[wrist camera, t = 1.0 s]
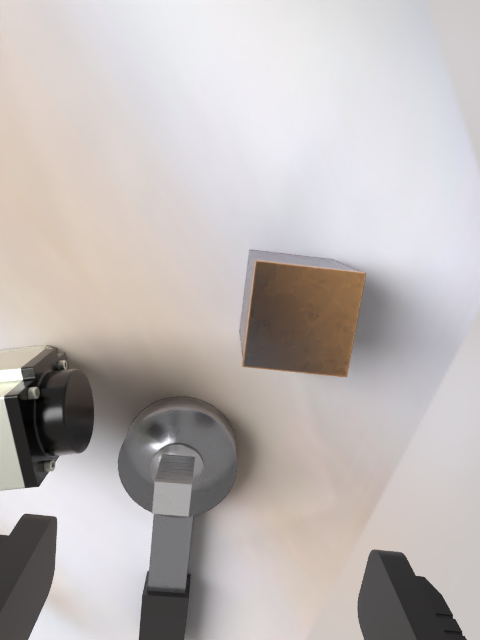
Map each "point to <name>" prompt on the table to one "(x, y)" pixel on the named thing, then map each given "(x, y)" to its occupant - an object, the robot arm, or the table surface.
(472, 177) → the table surface
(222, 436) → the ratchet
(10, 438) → the pneumatic valve
